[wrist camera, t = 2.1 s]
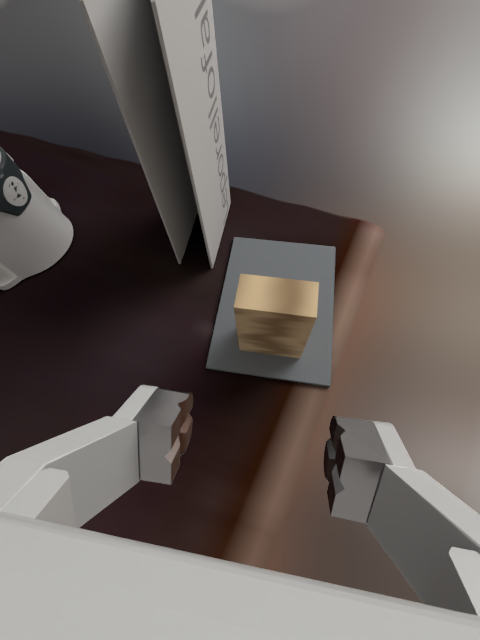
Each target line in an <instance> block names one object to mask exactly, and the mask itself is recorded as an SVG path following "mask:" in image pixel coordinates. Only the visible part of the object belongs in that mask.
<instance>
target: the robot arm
mask: <svg viewBox="0 0 480 640" xmlns="http://www.w3.org/2000/svg"><path fill="white" fill-rule="evenodd" d="M13 161H14V160H13V159H12V158H11V157H10V156H9V154H7V153H6V152H5V151H4V150H3V148H2V147H0V289H1V290H7V289H10V288H12V287H13V286H15V285H16V284H18V283H19V282H20V281H22V280H23V279H25V278H27V277H29V276H32V275H35V274H37V273H40V272H42V271H44V270H46V269H47V268H49V267H51V266H52V265H53V264H55V263H56V262H57V261H58V260H59V259H60V258H61V257H62V256H63V255H64V254H65V253H66V251H67V250H68V248H69V246H70V244H71V242H72V238H73V227H72V224H71V222H70V221H69V219H68V218H67V217H65V216H64V215H63V214H62V213H61V209H60V206H59V204H58V203H57V201H56V200H55V199H53V198H48V197H47V196H46V195H45V194H44V192H43V191H42V190H41V189H40V188H39V187H38V186H37V185H36V184H35V183H34V182H33V181H32V180H31V179H30V177H29V176H28V175H27V174H26V173H25V172H23V171H22V170H20V169H19V168H18V167H17V165H16V164H15V163H14V162H13ZM192 407H193V395H192V393H189V392H183V391H177V390H172V389H166V388H161V387H155V386H148V385H141V386H139V387H138V388H137V389H136V390H135V392H134V393H133V394H132V395H131V396H130V397H129V398H128V399H127V401H126V402H125V403H124V404H123V405H122V406H121V407H120V408H119V410H118V411H117V412H116V413H115V414H114V415H113V416H112V417H108V416H106V417H104V418H101V419H99V420H96V421H94V422H91V423H89V424H86V425H84V426H81V427H79V428H77V429H74V430H72V431H69V432H67V433H64V434H62V435H59V436H57V437H54V438H52V439H50V440H47V441H45V442H42V443H40V444H37V445H35V446H32V447H30V448H27V449H25V450H22V451H20V452H18V453H15V454H13V455H10V456H8V457H6V458H5V459H3V460H2V461H1V462H0V640H480V515H479V514H478V513H476V512H475V511H474V510H473V509H471V508H470V507H469V506H468V505H466V504H465V503H464V502H462V501H461V500H460V499H459V498H457V497H456V496H455V495H454V494H452V493H451V492H450V491H448V490H447V489H446V488H444V487H443V486H442V485H441V484H439V483H438V482H437V481H436V480H434V479H433V478H432V477H430V476H429V475H428V474H426V473H425V472H424V471H422V470H417V469H416V468H415V466H414V464H413V462H412V460H411V458H410V456H409V455H408V453H407V451H406V449H405V447H404V445H403V443H402V442H401V439H400V437H399V435H398V433H397V432H396V430H395V428H394V426H393V425H392V424H391V423H385V422H377V421H367V420H359V419H353V418H345V417H337V416H333V417H332V419H331V423H330V428H329V429H330V434H331V438H330V439H329V440H327V441H326V446H325V451H324V473H325V478H326V479H327V480H328V482H329V486H328V491H327V494H328V501H329V507H330V514H331V516H334V517H339V518H343V519H348V520H353V521H357V522H361V523H366V524H367V527H368V528H369V530H370V531H371V532H372V534H373V535H374V536H375V538H376V539H377V541H378V542H379V543H380V545H381V546H382V547H383V549H384V550H385V551H386V553H387V554H388V556H389V557H390V558H391V560H392V561H393V563H394V564H395V565H396V567H397V568H398V569H399V571H400V572H401V574H402V575H403V576H404V578H405V579H406V580H407V582H408V583H409V585H410V586H411V587H412V589H413V590H414V591H415V593H416V594H417V595H418V597H419V598H420V600H421V601H422V602H423V604H422V603H417V602H413V601H409V600H404V599H400V598H395V597H390V596H386V595H381V594H377V593H372V592H367V591H363V590H358V589H354V588H349V587H345V586H340V585H336V584H331V583H326V582H322V581H317V580H313V579H308V578H304V577H299V576H294V575H290V574H285V573H281V572H275V571H272V570H267V569H263V568H258V567H253V566H249V565H244V564H240V563H235V562H231V561H226V560H221V559H217V558H212V557H208V556H203V555H199V554H194V553H189V552H185V551H180V550H176V549H171V548H167V547H162V546H157V545H153V544H148V543H144V542H139V541H135V540H130V539H125V538H121V537H116V536H112V535H107V534H103V533H98V532H93V531H89V530H84V529H80V528H79V527H81V526H82V525H83V524H84V523H86V522H87V521H88V520H90V519H91V518H92V517H94V516H95V515H96V514H97V513H99V512H100V511H101V510H103V509H104V508H105V507H107V506H108V505H109V504H110V503H112V502H113V501H114V500H116V499H117V498H118V497H120V496H121V495H122V494H123V493H125V492H126V491H127V490H129V489H130V488H131V487H133V486H134V485H135V484H136V483H138V482H139V480H145V481H152V482H158V483H164V484H170V485H171V483H172V481H173V479H174V476H175V474H176V472H177V470H178V467H179V465H180V455H182V454H183V453H185V451H186V449H187V446H188V444H189V440H190V436H191V431H192V418H191V416H190V415H189V413H190V411H191V409H192Z"/></svg>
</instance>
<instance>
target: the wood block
mask: <svg viewBox="0 0 480 640" xmlns="http://www.w3.org/2000/svg"><path fill="white" fill-rule="evenodd" d="M318 291H319V282H313V281H304V280H295V279H286V278H276V277H267V276H258V275H249V274H240V278H239V283H238V288H237V293H236V298H235V303H234V313H235V320H236V328H237V335H238V342H239V350H242V351H249V352H256V353H264V354H271V355H278V356H285V357H292V358H301V355H302V353H303V350H304V348H305V345H306V343H307V340H308V338H309V336H310V333H311V331H312V328H313V326H314V323H315V321H316V319H317V308H318Z"/></svg>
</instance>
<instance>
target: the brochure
mask: <svg viewBox="0 0 480 640" xmlns="http://www.w3.org/2000/svg"><path fill="white" fill-rule="evenodd" d="M79 1H80V4H81V6H82V9H83V11H84V14H85V17H86V20H87V22H88V25H89V28H90V30H91V33H92V35H93V38H94V41H95V43H96V46H97V49H98V51H99V54H100V57H101V59H102V62H103V64H104V67H105V70H106V72H107V75H108V78H109V80H110V83H111V86H112V88H113V91H114V93H115V96H116V99H117V102H118V104H119V107H120V109H121V112H122V115H123V118H124V120H125V123H126V125H127V128H128V131H129V133H130V136H131V139H132V141H133V144H134V147H135V149H136V152H137V154H138V157H139V160H140V162H141V165H142V168H143V170H144V173H145V176H146V178H147V181H148V184H149V186H150V189H151V192H152V194H153V197H154V200H155V202H156V205H157V208H158V210H159V213H160V215H161V218H162V221H163V223H164V226H165V229H166V231H167V234H168V237H169V239H170V242H171V245H172V247H173V250H174V253H175V255H176V258H177V260H178V263H179V264H181V262H182V259H183V256H184V253H185V250H186V247H187V244H188V241H189V238H190V234H191V231H192V228H193V225H194V222H195V219H196V216H197V213H198V214H199V218H200V223H201V227H202V232H203V236H204V240H205V245H206V249H207V254H208V258H209V263H210V267H211V269H212V268H213V266H214V262H215V259H216V255H217V251H218V248H219V244H220V240H221V236H222V233H223V229H224V225H225V222H226V218H227V214H228V211H229V207H230V203H231V201H230V191H229V181H228V171H227V160H226V148H225V138H224V128H223V117H222V106H221V97H220V96H221V95H220V85H219V74H218V65H217V53H216V42H215V32H214V21H213V10H212V0H79Z"/></svg>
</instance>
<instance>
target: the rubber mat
mask: <svg viewBox="0 0 480 640" xmlns="http://www.w3.org/2000/svg"><path fill="white" fill-rule="evenodd" d="M240 274H249V275H258V276H267V277H276V278H286V279H295V280H304V281H313V282H319V291H318V308H317V319H316V321H315V323H314V326H313V328H312V331H311V333H310V336H309V338H308V340H307V343H306V345H305V348H304V350H303V353H302V355H301V358H292V357H285V356H278V355H271V354H264V353H256V352H249V351H242V350H239V342H238V335H237V328H236V320H235V313H234V303H235V298H236V293H237V288H238V283H239V278H240ZM334 275H335V247H332V246H322V245H311V244H301V243H291V242H280V241H270V240H260V239H249V238H239V237H234V241H233V245H232V250H231V255H230V259H229V264H228V268H227V273H226V277H225V282H224V286H223V291H222V295H221V300H220V304H219V309H218V313H217V318H216V323H215V327H214V332H213V336H212V341H211V345H210V350H209V354H208V359H207V363H206V369H212V370H218V371H225V372H232V373H239V374H245V375H252V376H259V377H266V378H272V379H279V380H286V381H293V382H299V383H306V384H313V385H319V386H326V387H330V386H331V360H332V331H333V303H334Z"/></svg>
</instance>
